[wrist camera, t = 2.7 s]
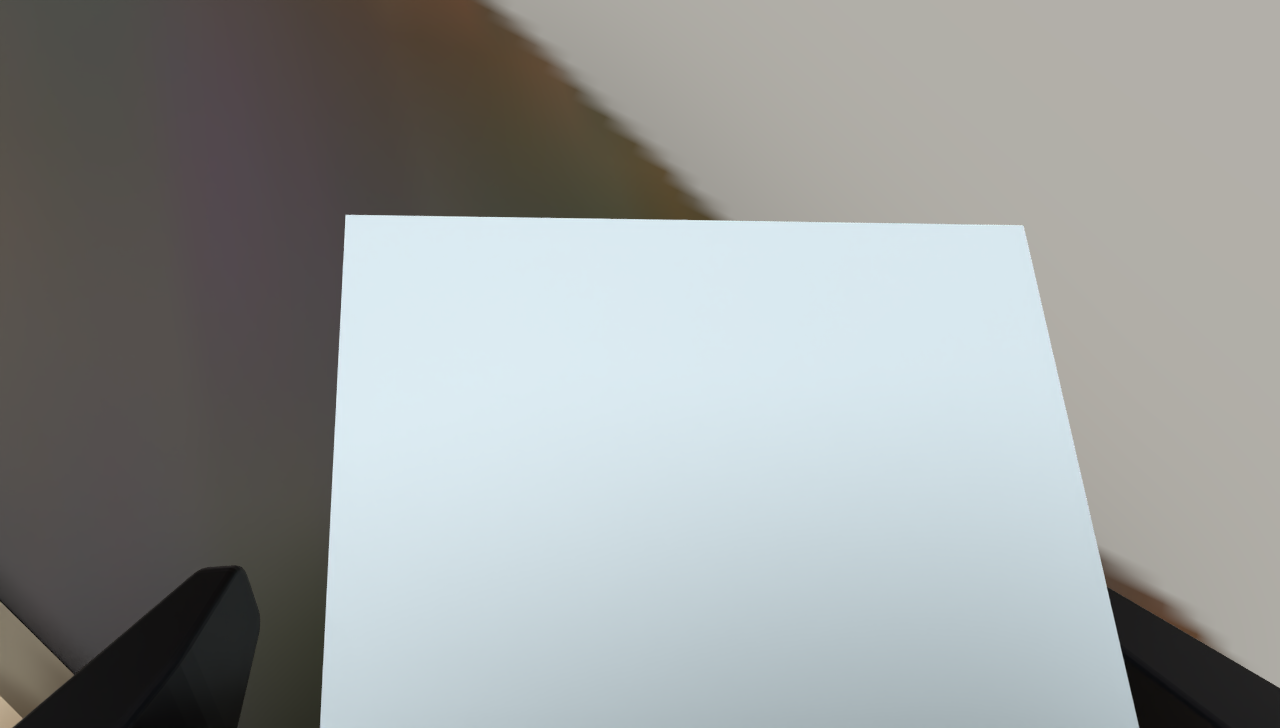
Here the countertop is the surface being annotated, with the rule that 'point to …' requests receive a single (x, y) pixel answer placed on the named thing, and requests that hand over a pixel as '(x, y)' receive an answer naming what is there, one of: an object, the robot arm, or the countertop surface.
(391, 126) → the countertop surface
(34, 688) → the shelf board
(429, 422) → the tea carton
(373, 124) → the countertop surface
